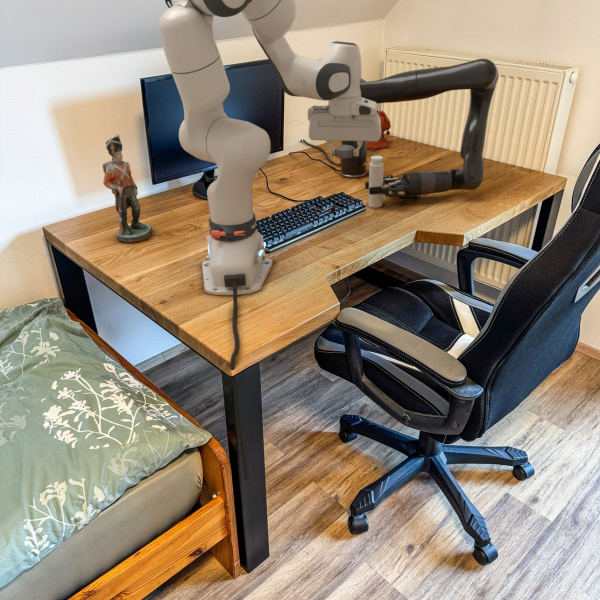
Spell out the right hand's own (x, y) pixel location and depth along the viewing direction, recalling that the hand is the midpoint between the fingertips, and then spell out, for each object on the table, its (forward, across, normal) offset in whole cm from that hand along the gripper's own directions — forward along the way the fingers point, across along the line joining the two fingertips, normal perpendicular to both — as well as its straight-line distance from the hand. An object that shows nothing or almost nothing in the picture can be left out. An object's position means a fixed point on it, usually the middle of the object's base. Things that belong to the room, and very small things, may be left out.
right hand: (367, 188), depth 179 cm
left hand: (+10, +11, -15) cm, 21 cm away
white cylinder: (-3, 0, +6) cm, 7 cm away
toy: (-18, -62, +6) cm, 65 cm away
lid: (+10, +11, -17) cm, 23 cm away
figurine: (+73, +6, +6) cm, 74 cm away
